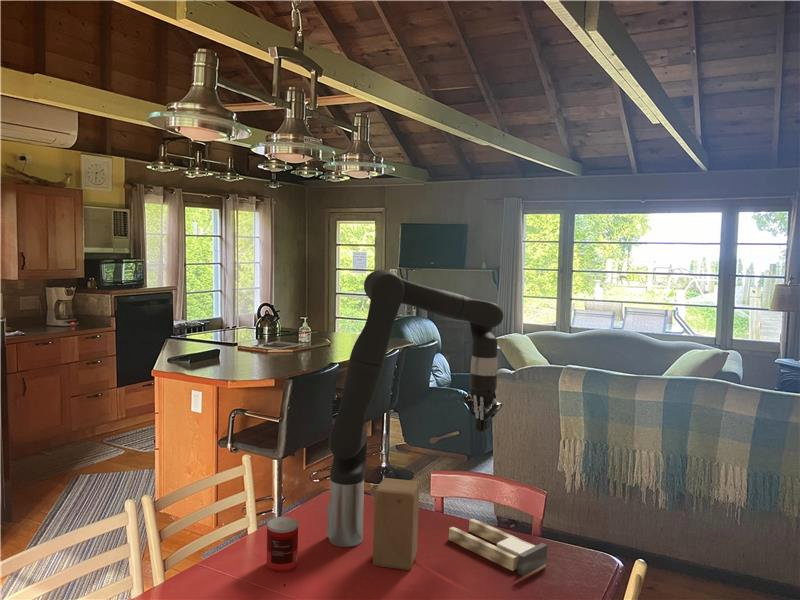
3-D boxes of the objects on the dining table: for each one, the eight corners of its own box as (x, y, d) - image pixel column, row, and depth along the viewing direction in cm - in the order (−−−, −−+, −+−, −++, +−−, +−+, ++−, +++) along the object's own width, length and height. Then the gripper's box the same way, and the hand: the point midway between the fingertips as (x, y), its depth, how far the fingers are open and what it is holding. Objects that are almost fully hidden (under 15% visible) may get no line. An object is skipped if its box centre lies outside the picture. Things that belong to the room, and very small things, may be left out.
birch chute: (445, 541, 176) (446, 521, 175) (469, 531, 183) (470, 512, 182) (522, 578, 157) (523, 556, 156) (546, 566, 164) (547, 545, 163)
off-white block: (496, 558, 165) (496, 543, 165) (510, 551, 170) (511, 536, 169) (521, 570, 160) (521, 554, 159) (535, 562, 164) (536, 547, 163)
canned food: (285, 554, 166) (286, 514, 165) (303, 566, 160) (304, 524, 159) (260, 564, 160) (260, 522, 159) (278, 576, 155) (278, 533, 154)
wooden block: (410, 572, 159) (413, 494, 157) (371, 566, 161) (373, 490, 159) (417, 553, 168) (419, 480, 167) (380, 548, 170) (382, 476, 169)
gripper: (457, 369, 183) (455, 428, 184) (493, 377, 173) (490, 439, 174) (475, 366, 188) (472, 424, 189) (510, 374, 178) (508, 434, 179)
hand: (481, 431), depth 182 cm, fingers closed
